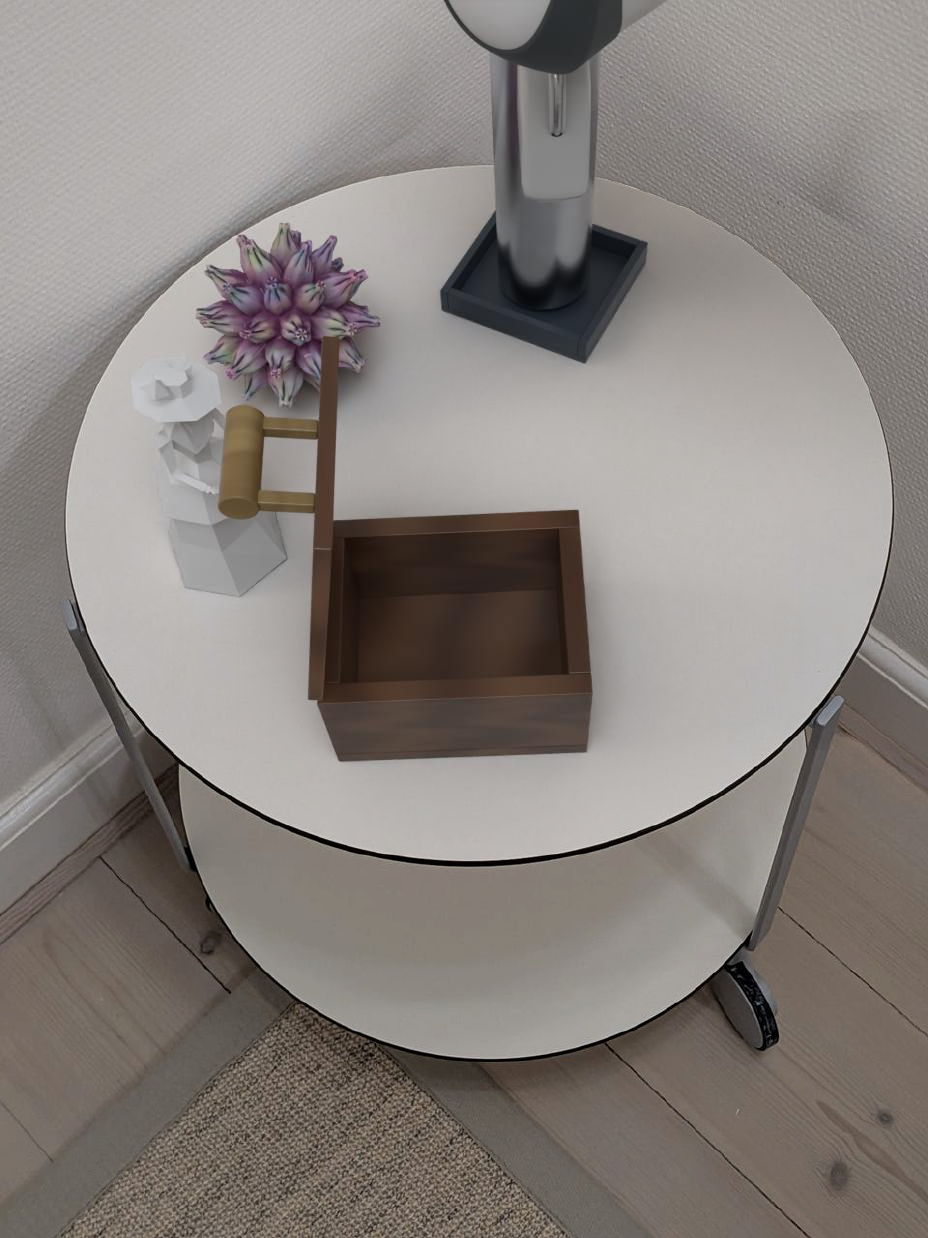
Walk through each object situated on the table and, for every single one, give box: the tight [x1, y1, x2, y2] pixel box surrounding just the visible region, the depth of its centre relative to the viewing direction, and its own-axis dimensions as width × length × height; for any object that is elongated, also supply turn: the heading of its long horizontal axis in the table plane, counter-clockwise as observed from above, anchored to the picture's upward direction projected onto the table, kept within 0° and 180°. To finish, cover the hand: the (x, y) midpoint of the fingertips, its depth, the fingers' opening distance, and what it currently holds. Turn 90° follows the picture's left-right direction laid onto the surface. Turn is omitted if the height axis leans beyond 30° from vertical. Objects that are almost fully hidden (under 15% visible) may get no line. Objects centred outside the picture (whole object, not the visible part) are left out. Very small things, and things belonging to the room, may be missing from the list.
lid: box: [218, 336, 340, 701], centre depth 60 cm, size 15×11×5 cm
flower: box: [194, 222, 381, 409], centre depth 81 cm, size 12×12×12 cm
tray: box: [439, 209, 649, 364], centre depth 87 cm, size 11×10×2 cm
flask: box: [489, 50, 602, 310], centre depth 78 cm, size 6×6×20 cm
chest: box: [316, 509, 593, 762], centre depth 71 cm, size 14×11×8 cm
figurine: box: [130, 355, 288, 598], centre depth 71 cm, size 7×8×18 cm
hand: (545, 148), depth 77 cm, fingers closed on flask, 6 cm apart
